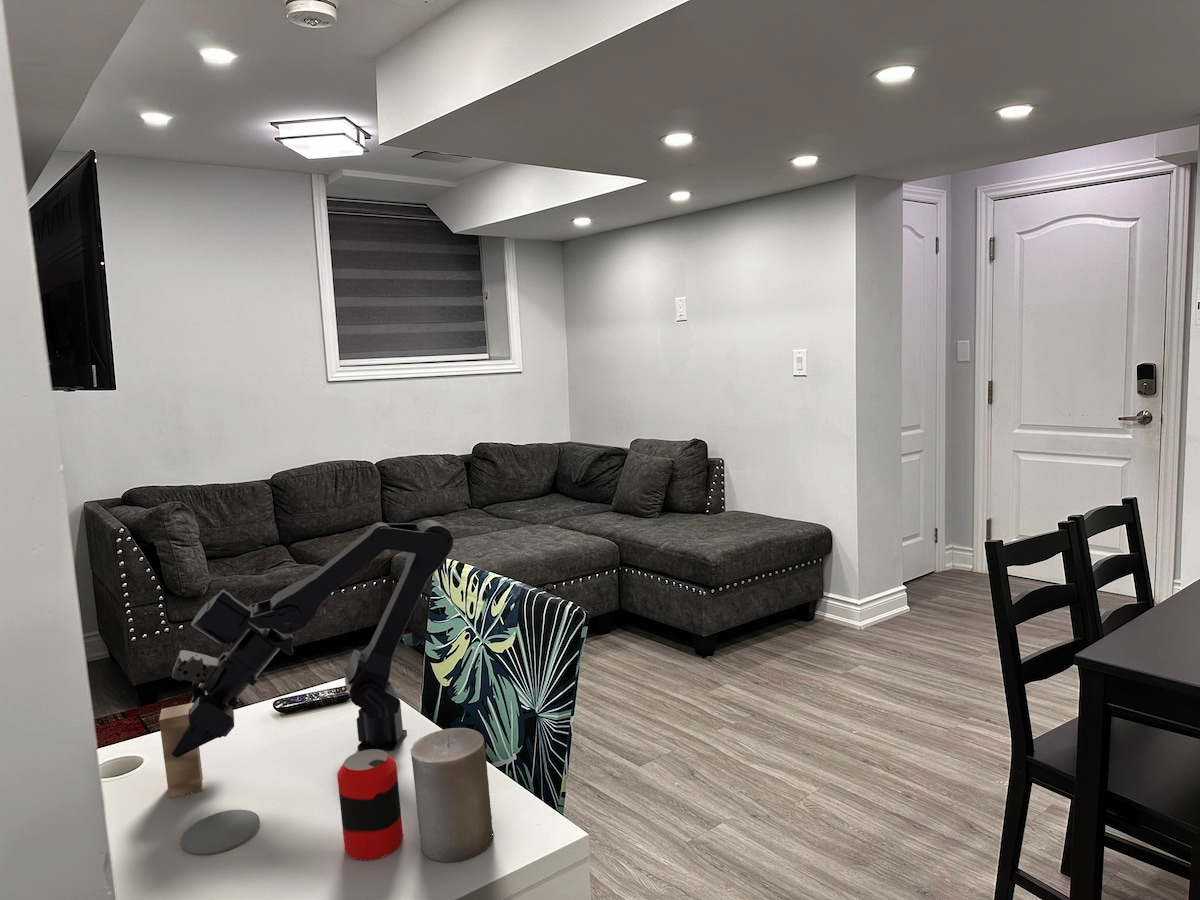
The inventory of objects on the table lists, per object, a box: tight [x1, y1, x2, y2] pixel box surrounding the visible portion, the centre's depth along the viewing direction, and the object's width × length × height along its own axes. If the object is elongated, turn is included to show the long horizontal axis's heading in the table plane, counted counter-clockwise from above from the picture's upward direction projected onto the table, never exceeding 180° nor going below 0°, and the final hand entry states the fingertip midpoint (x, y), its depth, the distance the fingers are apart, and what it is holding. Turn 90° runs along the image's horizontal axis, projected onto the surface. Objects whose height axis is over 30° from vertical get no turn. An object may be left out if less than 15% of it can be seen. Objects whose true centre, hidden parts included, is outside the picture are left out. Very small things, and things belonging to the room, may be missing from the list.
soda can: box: [336, 749, 404, 861], centre depth 112 cm, size 8×8×12 cm
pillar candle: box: [410, 727, 495, 863], centre depth 111 cm, size 10×10×15 cm
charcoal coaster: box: [180, 809, 261, 856], centre depth 117 cm, size 10×10×1 cm
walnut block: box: [158, 702, 204, 799], centre depth 130 cm, size 4×4×12 cm
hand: (176, 743), depth 129 cm, fingers open, 9 cm apart
